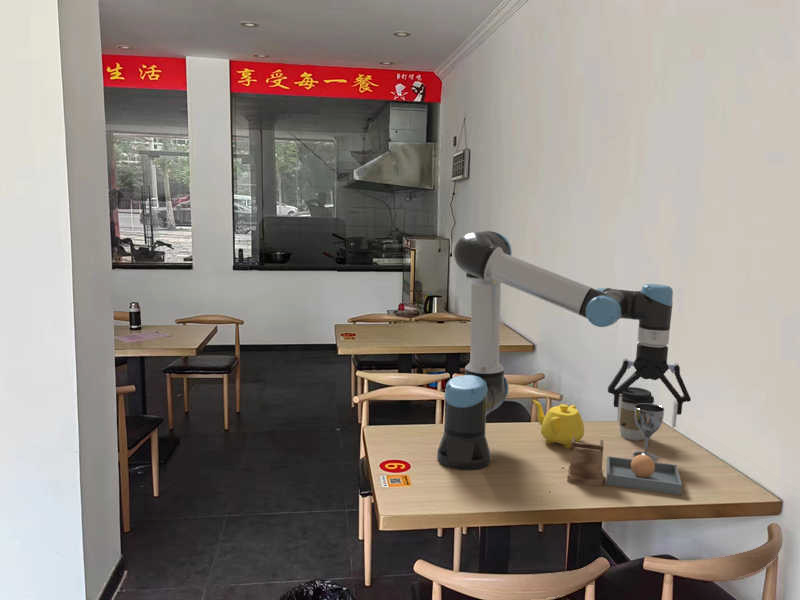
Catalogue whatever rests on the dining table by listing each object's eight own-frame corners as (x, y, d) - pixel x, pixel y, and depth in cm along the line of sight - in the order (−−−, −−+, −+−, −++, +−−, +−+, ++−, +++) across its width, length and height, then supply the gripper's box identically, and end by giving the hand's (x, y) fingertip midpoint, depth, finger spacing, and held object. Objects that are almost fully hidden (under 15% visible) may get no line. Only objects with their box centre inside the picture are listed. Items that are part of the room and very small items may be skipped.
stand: (567, 481, 165) (569, 443, 164) (568, 470, 172) (570, 434, 170) (602, 486, 162) (605, 448, 161) (602, 475, 169) (605, 439, 168)
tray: (606, 484, 164) (607, 474, 163) (606, 465, 176) (607, 456, 175) (681, 495, 158) (682, 484, 158) (675, 474, 170) (676, 465, 170)
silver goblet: (662, 463, 178) (666, 412, 176) (633, 460, 180) (637, 410, 178) (657, 452, 186) (661, 404, 184) (629, 450, 188) (632, 402, 185)
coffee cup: (607, 430, 204) (610, 386, 202) (640, 429, 205) (643, 385, 203) (623, 443, 193) (626, 396, 190) (658, 442, 194) (662, 396, 192)
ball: (629, 470, 171) (631, 449, 170) (653, 473, 169) (654, 452, 168) (630, 479, 165) (632, 458, 164) (654, 483, 163) (656, 461, 162)
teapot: (571, 432, 202) (573, 396, 200) (592, 448, 188) (595, 411, 186) (530, 434, 199) (532, 398, 198) (549, 451, 186) (551, 413, 184)
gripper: (602, 342, 162) (596, 420, 165) (707, 351, 154) (699, 433, 157) (602, 336, 169) (596, 412, 172) (703, 345, 161) (695, 423, 165)
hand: (645, 422), depth 165 cm, fingers open, 13 cm apart
